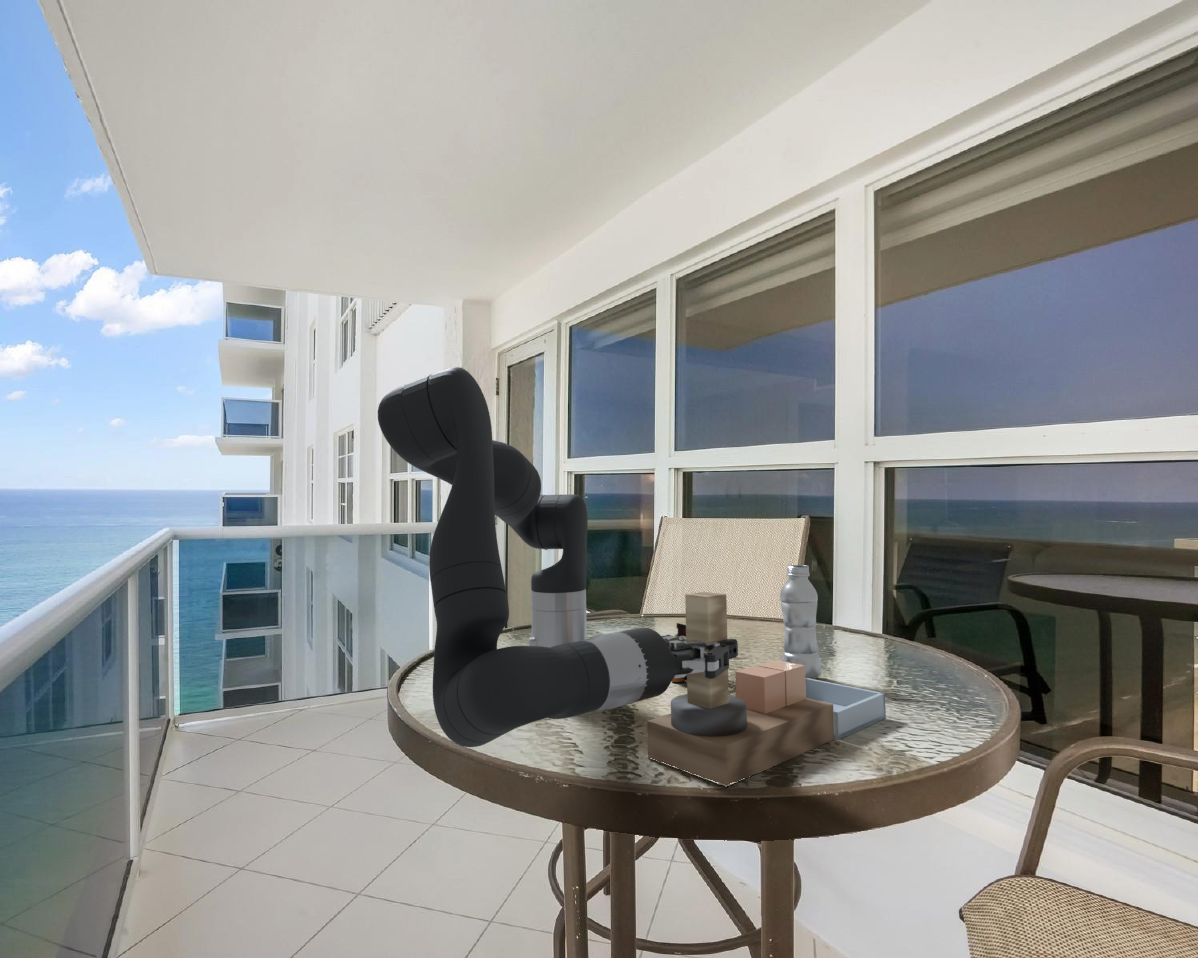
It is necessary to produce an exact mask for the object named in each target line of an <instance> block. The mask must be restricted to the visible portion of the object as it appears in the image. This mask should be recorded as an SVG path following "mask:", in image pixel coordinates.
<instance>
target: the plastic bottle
mask: <svg viewBox="0 0 1198 958" xmlns="http://www.w3.org/2000/svg"><path fill="white" fill-rule="evenodd" d="M786 568H787V570H786V577H788V578H787V581H786V582H785V583H784V585H783V586H782V587H781V589H780V592H779V601H780V607H781V613H782V620H783V625H784V627H783V629H784V631H783V632H784V635H783V639H784V640H783V652H782V656H781V657H782V659H781V661H784V662H789V663H795V664H800V665H805V678H810V679H817V678H818V677H819V676H820V674H821V670H822V663H821V657H820V656H821V655H820V653H819V648H818V647H819V646H818V640H817V639H818V638H817V628H816V626H817V611H818V601H819V600H818V597H819V596H818V592H817V590H816V589H815V587H814V585H813V584H812V583H811V582H810V580H809V577H810V576H811V575H810V574H811V573H810V567H809V565H804V564H794V565H793V564H790V565H787V567H786Z"/></svg>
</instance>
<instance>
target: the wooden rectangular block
mask: <svg viewBox="0 0 1198 958" xmlns="http://www.w3.org/2000/svg"><path fill="white" fill-rule="evenodd" d="M729 695H730V694H729ZM730 696H734V697H736V693H734V694H731V695H730ZM646 732H647V737H646V739H647V759H648V758H652V759H655V760H657V761H659V762H664V763H666V764H669V765H671V766H675V767H677V768H679V769H682V770H685V771H688V772H690V773H692V774H696V775H699V776H701V777H703V778H707V779H710V780H713V781H715V782H720V783H722V784H725V785H728V784H730V783H732V782H737V781H739V780H741V779H743V778H747V779H749V778H750V777H749V776H751V775H754V774H756V775H758V774H760V773H762V771H763V772H765V771H767V770H769V769H772V768H773V766H774V767H775V766H778V765H781V764H782V762H783V763H785V762H787V761H789V760H792V759H795V758H796V757H798V756H800V755H802V754H805V753H807V752H809V751H811V750H814V749H816V748H818V747H821V746H822V745H824V744H827V743H829V742H831V741H834V740H835V739H834V712H833V704H830V703H826V702H821V701H817V700H812V699H808V698H806V699H805V700H802V701H799V702H797V703H794V704H791V705H788V706H785V707H782V708H780V709H777V710H774V711H771V712H768V713H766V714H765V713H761V712H757V711H753V710H749V709H747V728H746V729H745V730H744V731H742V732H740V733H738V734H734V735H729V736H718V737H709V736H697V735H691V734H687V733H684V732H681V731H678V730H676V729H675V728H674V727H673V726H672V725H671V713H668V714H665V715H662V716H659V717H658V716H657V717H656V718H652V719H648V720H646ZM659 762H658V763H659ZM764 770H765V771H764ZM757 773H758V774H757ZM754 776H755V775H754ZM748 777H749V778H748Z"/></svg>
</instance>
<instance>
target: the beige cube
mask: <svg viewBox="0 0 1198 958" xmlns="http://www.w3.org/2000/svg"><path fill="white" fill-rule="evenodd" d="M756 666H760V667H765V668H770V669H775V670H780V671H785V702H786V706H788V705H791V704H794V703H797V702H799V701H802V700H805V699H806V684H805V665H800V664H795V663H789V662H784V661H782V660H778V659H776V660H773V661H768V662H765V663H760V664H757V665H756Z"/></svg>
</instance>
